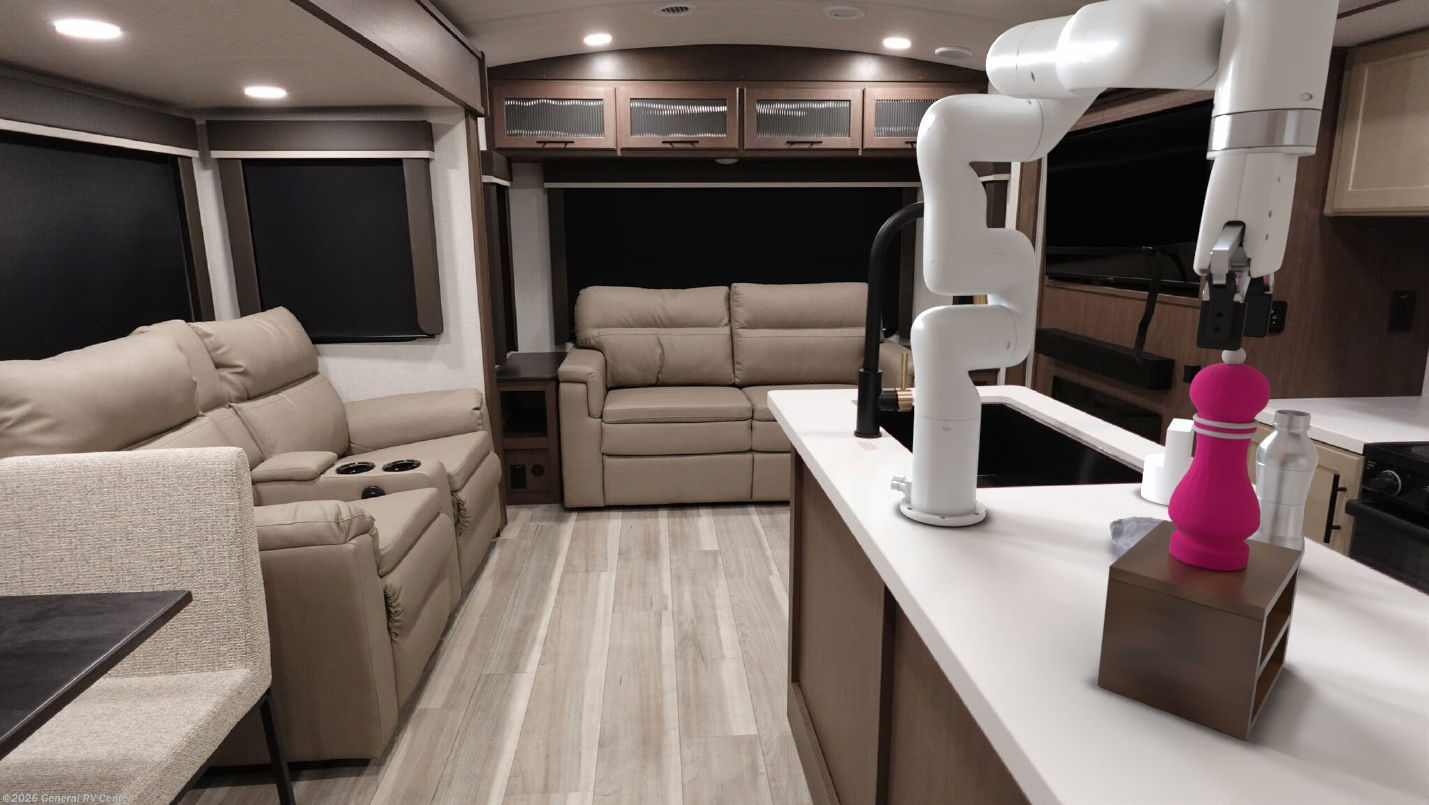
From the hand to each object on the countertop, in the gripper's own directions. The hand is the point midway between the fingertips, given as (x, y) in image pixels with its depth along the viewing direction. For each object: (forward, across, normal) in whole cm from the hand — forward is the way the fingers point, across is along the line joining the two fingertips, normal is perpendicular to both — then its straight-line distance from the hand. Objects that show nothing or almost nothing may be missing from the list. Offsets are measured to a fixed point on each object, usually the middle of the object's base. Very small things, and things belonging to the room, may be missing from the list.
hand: (1232, 342), depth 69 cm
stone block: (+33, -28, -11) cm, 44 cm away
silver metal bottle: (+33, -35, +1) cm, 48 cm away
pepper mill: (+20, 0, 0) cm, 21 cm away
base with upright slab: (+33, -54, -16) cm, 66 cm away
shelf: (+32, 0, +1) cm, 33 cm away
